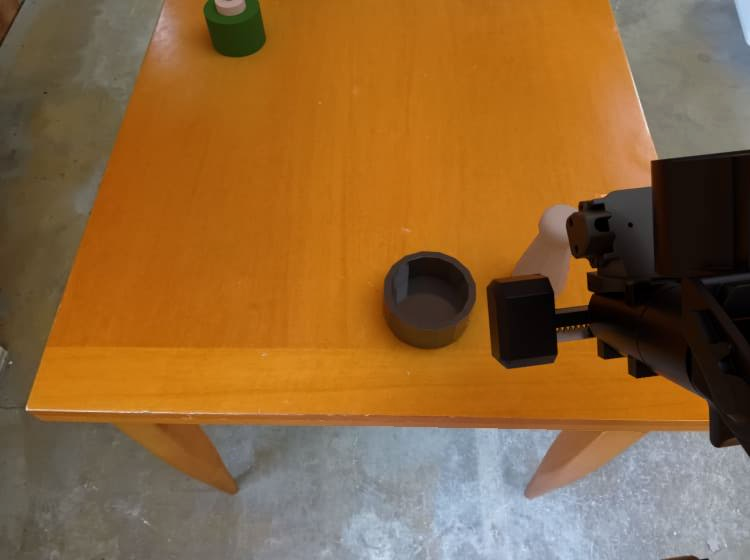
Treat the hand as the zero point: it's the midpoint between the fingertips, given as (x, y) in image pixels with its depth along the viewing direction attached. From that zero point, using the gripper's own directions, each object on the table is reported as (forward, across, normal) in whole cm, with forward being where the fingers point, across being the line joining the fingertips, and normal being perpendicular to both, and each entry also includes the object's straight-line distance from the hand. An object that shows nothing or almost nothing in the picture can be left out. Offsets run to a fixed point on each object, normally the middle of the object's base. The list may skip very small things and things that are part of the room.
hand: (571, 290), depth 49 cm
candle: (+48, +31, -36) cm, 67 cm away
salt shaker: (+15, -2, +3) cm, 16 cm away
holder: (+15, +10, +3) cm, 18 cm away
